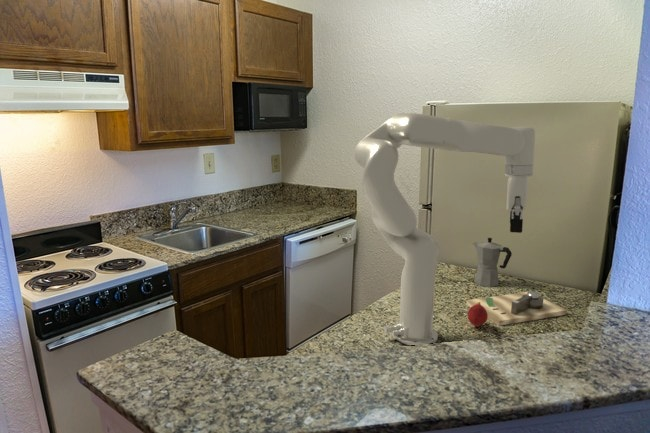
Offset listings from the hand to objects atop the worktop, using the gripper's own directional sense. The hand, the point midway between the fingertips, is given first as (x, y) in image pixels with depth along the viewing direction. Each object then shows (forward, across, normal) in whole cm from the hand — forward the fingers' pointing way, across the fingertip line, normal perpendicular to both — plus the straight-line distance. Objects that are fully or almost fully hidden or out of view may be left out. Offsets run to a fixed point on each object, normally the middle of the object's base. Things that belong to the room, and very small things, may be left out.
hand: (515, 227), depth 138 cm
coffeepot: (+32, -34, -8) cm, 47 cm away
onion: (+30, +6, -10) cm, 33 cm away
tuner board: (+31, -12, +1) cm, 33 cm away
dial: (+29, -10, +4) cm, 31 cm away
